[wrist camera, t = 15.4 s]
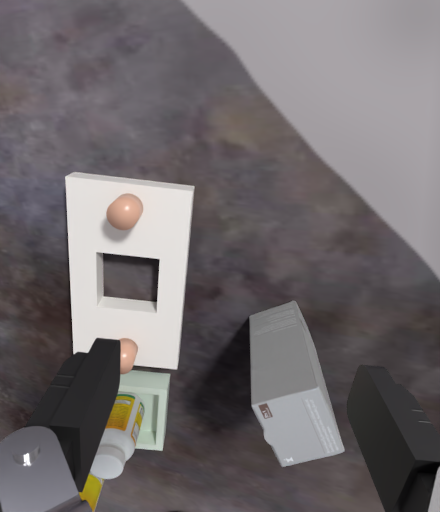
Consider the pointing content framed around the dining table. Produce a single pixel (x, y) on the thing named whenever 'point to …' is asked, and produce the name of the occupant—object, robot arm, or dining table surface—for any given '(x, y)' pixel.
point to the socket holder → (132, 244)
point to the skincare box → (290, 387)
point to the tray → (149, 405)
